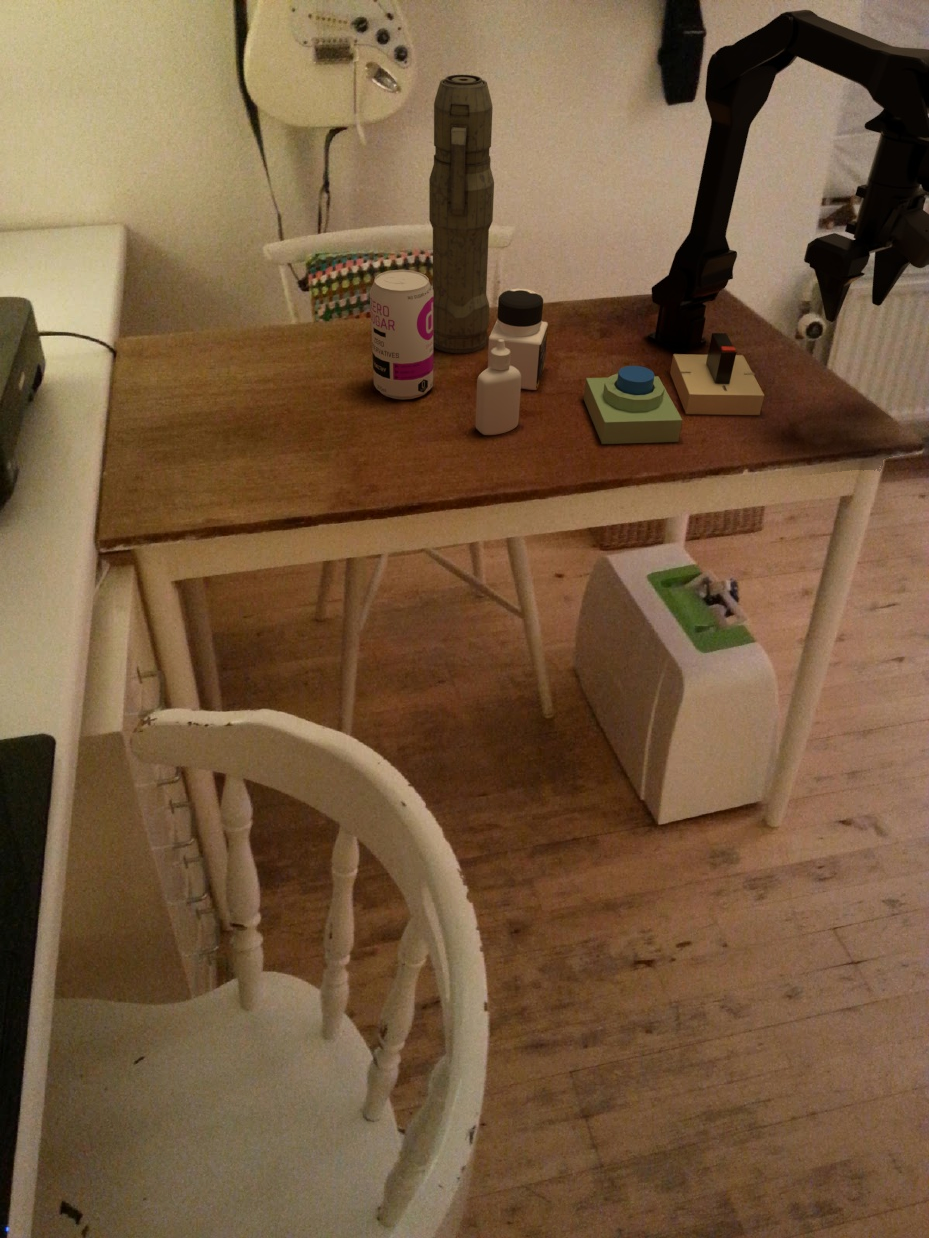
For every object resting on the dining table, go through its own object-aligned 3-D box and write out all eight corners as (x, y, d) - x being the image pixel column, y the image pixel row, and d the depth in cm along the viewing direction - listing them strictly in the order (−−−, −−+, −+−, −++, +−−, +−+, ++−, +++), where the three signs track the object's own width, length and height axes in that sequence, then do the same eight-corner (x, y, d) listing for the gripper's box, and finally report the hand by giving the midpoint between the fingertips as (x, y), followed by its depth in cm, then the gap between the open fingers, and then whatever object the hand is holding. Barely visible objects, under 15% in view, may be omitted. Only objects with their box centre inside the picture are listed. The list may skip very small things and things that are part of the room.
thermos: (429, 358, 138) (428, 89, 116) (428, 324, 147) (428, 68, 124) (489, 358, 139) (501, 90, 116) (485, 324, 148) (496, 69, 125)
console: (669, 373, 137) (672, 352, 135) (739, 374, 137) (744, 354, 135) (684, 414, 128) (689, 393, 125) (760, 415, 128) (765, 394, 126)
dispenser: (583, 399, 130) (587, 365, 127) (654, 397, 131) (660, 363, 128) (601, 444, 121) (606, 409, 118) (678, 442, 122) (685, 407, 119)
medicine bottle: (537, 391, 131) (543, 307, 124) (486, 385, 132) (489, 301, 125) (544, 369, 137) (551, 286, 129) (495, 363, 138) (499, 281, 130)
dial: (705, 363, 132) (712, 331, 129) (720, 363, 133) (726, 331, 129) (714, 383, 128) (722, 350, 125) (729, 383, 128) (737, 350, 125)
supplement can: (441, 379, 133) (442, 273, 124) (420, 406, 127) (419, 296, 118) (388, 370, 135) (384, 264, 126) (364, 395, 129) (359, 287, 120)
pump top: (612, 380, 124) (614, 366, 123) (647, 379, 125) (649, 365, 124) (620, 397, 121) (622, 382, 120) (656, 396, 121) (658, 381, 120)
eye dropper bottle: (474, 419, 125) (477, 332, 117) (517, 420, 125) (523, 333, 117) (475, 436, 122) (478, 348, 114) (519, 436, 122) (525, 348, 114)
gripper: (906, 215, 99) (861, 355, 110) (1004, 186, 108) (954, 319, 118) (819, 186, 106) (785, 320, 116) (919, 161, 114) (878, 288, 125)
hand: (853, 312), depth 119 cm, fingers open, 9 cm apart
